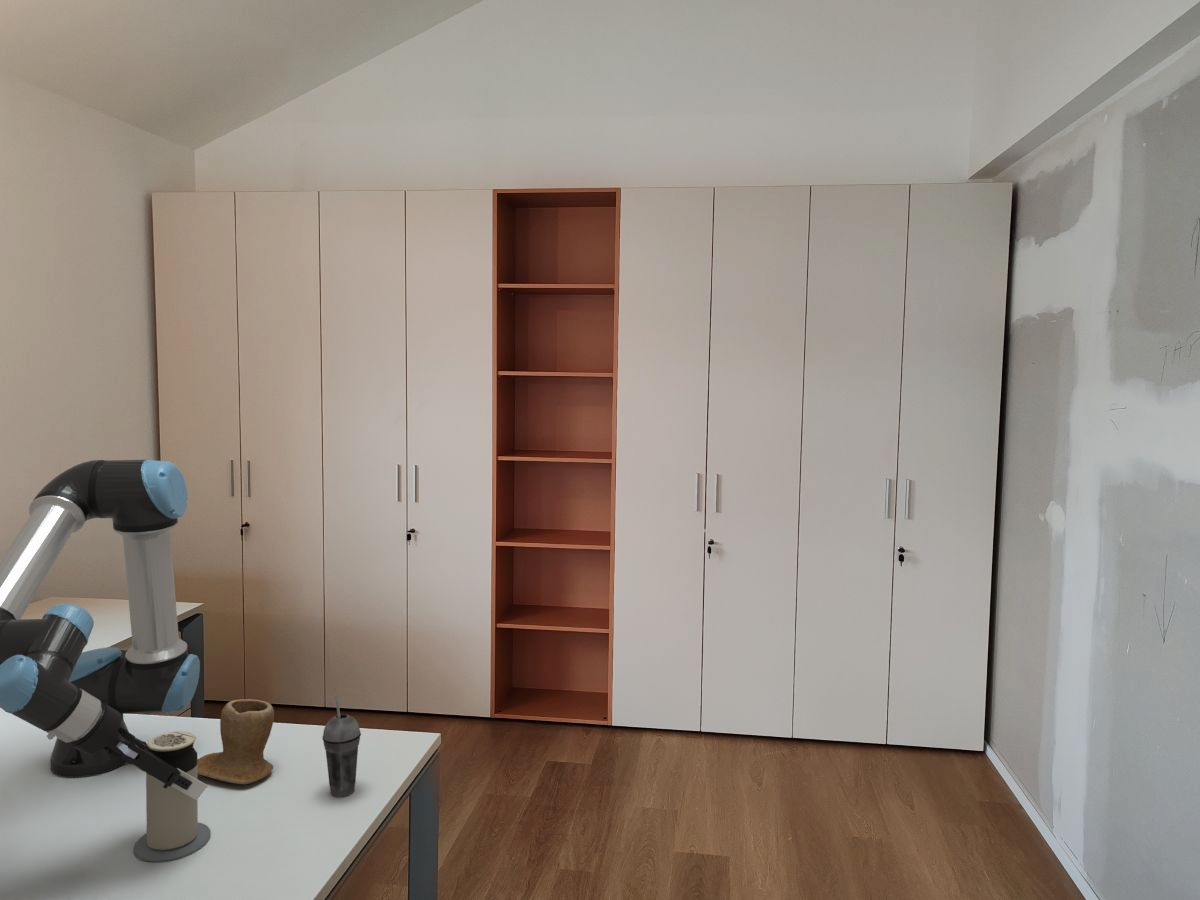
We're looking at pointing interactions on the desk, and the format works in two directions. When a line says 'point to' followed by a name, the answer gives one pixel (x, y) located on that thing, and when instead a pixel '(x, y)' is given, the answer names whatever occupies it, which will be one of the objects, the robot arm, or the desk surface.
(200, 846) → the mat
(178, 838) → the travel mug
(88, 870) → the desk surface
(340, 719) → the beverage cup
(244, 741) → the stone cup
